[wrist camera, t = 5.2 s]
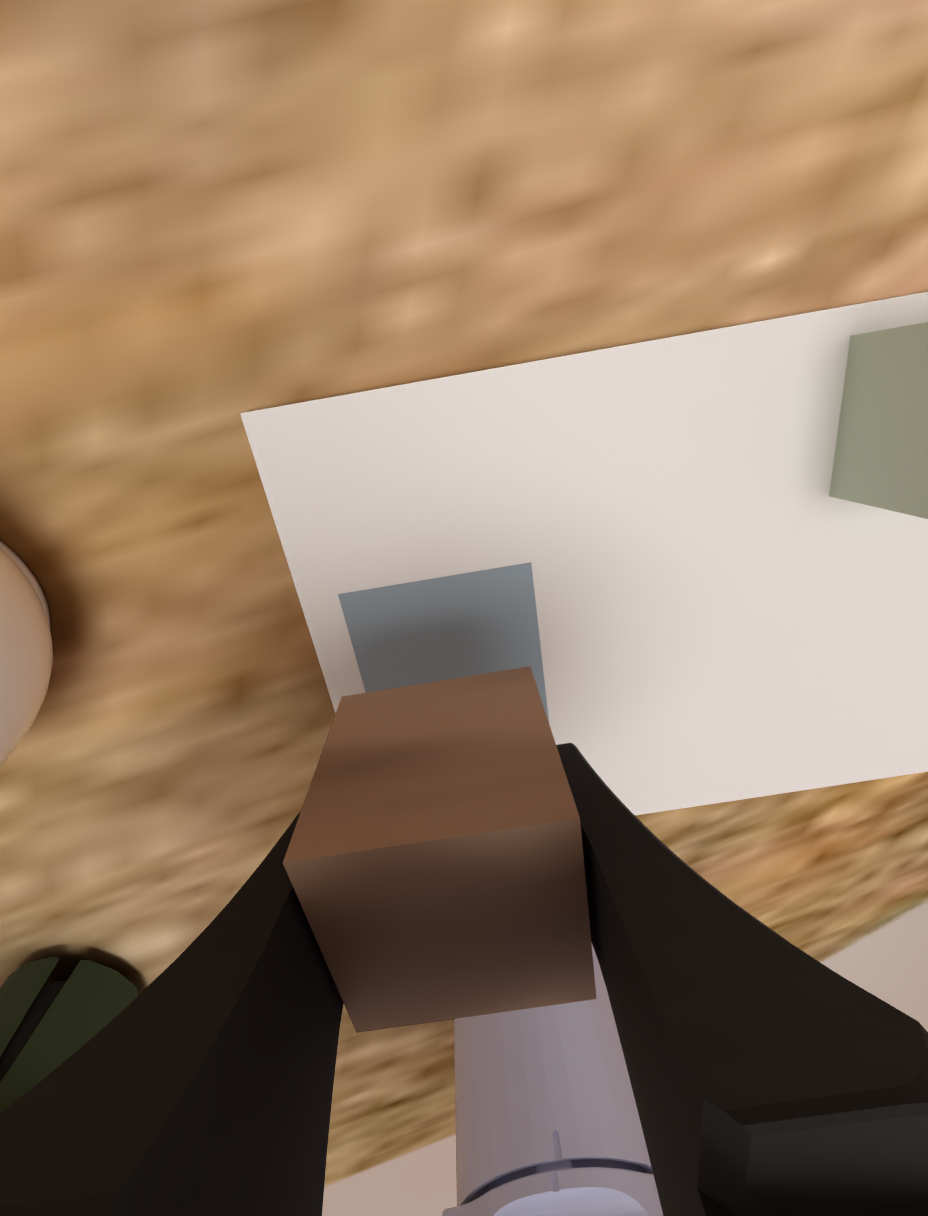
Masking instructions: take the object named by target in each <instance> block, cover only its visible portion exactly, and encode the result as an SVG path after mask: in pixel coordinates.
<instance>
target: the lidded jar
mask: <svg viewBox="0 0 928 1216" xmlns="http://www.w3.org/2000/svg"><path fill="white" fill-rule="evenodd" d="M50 628H51V625H50V613H49V608H48V604H47V601H46V598H45V596H44V593H43V591H42V588H41V587H40V585H39V583H38V582H37V580H36V578H35V576H34V575H33V574H32V572H31V571H30V570H29V568H28V567H27V566H26V564H25V563H24V562H23V561H22V560H21V559H20V558H19V557H18V556H17V555H16V554H15V553H14V552H13V551H12V550H11V549H10V548H9V547H8V546H6V545H5V544H4V543H3V542H2V541H0V767H1V766H2V765H3V764H4V763H5V761H6V760H7V759H8V757H9V756H10V755H11V753H12V752H13V751H14V750H15V748H16V747H17V746H18V744H19V743H20V742H21V740H22V739H23V738H24V736H25V735H26V733H27V732H28V731H29V729H30V728H31V726H32V724H33V722H34V720H35V718H36V716H37V714H38V712H39V710H40V708H41V706H42V703H43V701H44V698H45V696H46V693H47V691H48V686H49V680H50V675H51V669H52V663H53V650H52V638H51V633H50Z"/></svg>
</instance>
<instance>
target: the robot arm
mask: <svg viewBox="0 0 928 1216" xmlns="http://www.w3.org/2000/svg"><path fill="white" fill-rule="evenodd" d="M556 746H557V749H558V752H559V756H560V759H561V762H562V765H563V768H564V771H565V774H566V777H567V780H568V783H569V786H570V789H571V792H572V795H573V798H574V801H575V804H576V807H577V811H578V814H579V817H580V824H581V835H582V845H583V856H584V867H585V878H586V889H587V900H588V911H589V922H590V933H591V944H592V954H593V965H594V976H595V987H596V998H597V999H593V1000H586V1001H579V1002H572V1003H565V1004H558V1005H550V1006H543V1007H536V1008H529V1009H522V1010H515V1011H507V1012H500V1013H493V1014H486V1015H479V1016H472V1017H464V1018H457V1019H454V1046H455V1110H456V1171H457V1172H456V1173H457V1207H453V1208H448V1209H445V1210H444V1211H443V1215H442V1216H928V1032H927V1031H926V1030H925V1029H924V1028H923V1026H922V1025H921V1024H920V1023H919V1022H918V1021H916V1020H915V1019H913V1018H911V1017H910V1016H908V1015H906V1014H905V1013H903V1012H901V1011H899V1010H897V1009H896V1008H894V1007H892V1006H891V1005H889V1004H888V1003H886V1002H884V1001H882V1000H881V999H879V998H877V997H876V996H874V995H872V994H871V993H868V992H867V991H865V990H864V989H862V988H860V987H859V986H857V985H855V984H854V983H852V982H850V981H848V980H847V979H845V978H843V977H842V976H840V975H839V974H837V973H835V972H834V971H832V970H830V969H829V968H828V967H826V966H825V965H823V964H821V963H820V962H818V961H817V960H815V959H814V958H812V957H811V956H809V955H808V954H806V953H805V952H803V951H802V950H800V949H799V948H797V947H796V946H794V945H792V944H791V943H789V942H788V941H787V940H785V939H784V938H783V937H781V936H780V935H778V934H777V933H776V932H774V931H773V930H771V929H770V928H769V927H767V926H766V925H764V924H763V923H762V922H760V921H759V920H757V919H756V918H755V917H753V916H752V915H750V914H749V913H748V912H746V911H745V910H743V909H742V908H741V907H739V906H738V905H736V904H735V903H734V902H732V901H731V900H730V899H729V898H727V897H726V896H725V895H723V894H722V893H721V892H720V891H718V890H717V889H716V888H715V887H713V886H712V885H711V884H710V883H708V882H707V881H706V880H705V879H703V878H702V877H701V876H700V875H699V874H697V873H696V872H695V871H694V870H693V869H691V868H690V867H689V866H688V865H687V864H686V863H684V862H683V861H682V860H681V859H680V858H679V857H678V856H676V855H675V854H674V853H673V852H672V851H671V850H670V849H669V848H668V847H667V846H665V845H664V844H663V843H662V842H661V841H660V840H659V839H658V838H657V837H656V836H655V835H654V834H653V833H652V832H651V831H650V830H649V829H648V828H647V827H646V826H644V825H643V824H642V822H641V821H640V820H639V819H638V818H637V817H636V816H635V815H634V814H633V813H632V812H631V811H630V810H629V809H628V808H627V807H626V806H625V805H624V804H623V803H622V802H621V800H620V799H619V798H618V797H617V796H616V795H615V794H614V793H613V792H612V791H611V790H610V788H609V787H608V786H607V785H606V784H605V783H604V781H603V780H602V779H601V778H600V777H599V775H598V774H597V773H596V772H595V771H594V769H593V768H592V767H591V766H590V764H589V763H588V762H587V760H586V759H585V758H584V756H583V755H582V754H581V752H580V751H579V750H578V748H577V747H576V746H575V745H574V744H572V743H565V744H559V745H556ZM300 813H301V811H300V812H299V814H298V815H297V816H296V818H295V819H294V821H293V822H292V823H291V825H290V826H289V827H288V829H287V830H286V831H285V833H284V834H283V835H282V837H281V838H280V839H279V841H278V842H277V843H276V845H275V846H274V847H273V849H272V850H271V851H270V852H269V854H268V855H267V856H266V858H265V859H264V860H263V862H262V863H261V864H260V865H259V867H258V868H257V869H256V870H255V872H254V873H253V874H252V875H251V877H250V878H249V879H248V880H247V881H246V883H245V884H244V885H243V886H242V888H241V889H240V890H239V891H238V892H237V894H236V895H235V896H234V897H233V898H232V900H231V901H230V902H229V903H228V904H227V905H226V907H225V908H224V909H223V910H222V911H221V912H220V913H219V915H218V916H217V917H216V918H215V919H214V920H213V921H212V922H211V923H210V925H209V926H208V927H207V928H206V929H205V930H204V931H203V932H202V933H201V934H200V935H199V936H198V937H197V938H196V939H195V940H194V941H193V943H192V944H191V945H190V946H189V947H188V948H187V949H186V950H185V951H184V952H183V953H182V954H181V955H180V956H179V957H178V958H177V959H176V960H175V961H174V962H173V963H172V964H171V965H170V966H169V967H168V968H167V969H166V970H165V971H164V972H163V973H162V974H161V975H159V976H158V977H157V978H156V979H155V980H154V981H153V982H152V983H151V984H150V985H149V986H148V987H147V988H146V989H145V990H144V991H143V992H142V993H141V994H140V995H139V996H138V997H136V998H135V999H134V1000H133V1001H132V1002H131V1003H130V1004H129V1005H128V1006H127V1007H126V1008H125V1009H124V1010H123V1011H122V1012H121V1013H119V1014H118V1015H117V1016H116V1017H115V1018H114V1019H113V1020H112V1021H110V1022H109V1023H108V1024H107V1025H106V1026H105V1027H104V1028H103V1029H101V1030H100V1031H99V1032H98V1033H97V1034H96V1035H95V1036H94V1037H92V1038H91V1039H90V1040H89V1041H88V1042H87V1043H85V1044H84V1045H83V1046H82V1047H81V1048H80V1049H78V1050H77V1051H76V1052H75V1053H74V1054H72V1055H71V1056H70V1057H69V1058H68V1059H67V1060H65V1061H64V1062H63V1063H62V1064H61V1065H60V1066H58V1067H57V1068H56V1069H55V1070H54V1071H52V1072H51V1073H50V1074H49V1075H47V1076H46V1077H45V1078H44V1079H43V1080H41V1081H40V1082H39V1083H38V1084H37V1085H35V1086H34V1087H33V1088H31V1089H30V1090H29V1091H28V1092H26V1093H25V1094H24V1095H23V1096H21V1097H20V1098H19V1099H17V1100H16V1101H15V1102H14V1103H12V1104H11V1105H10V1106H9V1107H7V1108H6V1109H5V1110H3V1111H2V1112H1V1113H0V1216H322V1205H323V1192H324V1180H325V1167H326V1155H327V1144H328V1133H329V1123H330V1112H331V1102H332V1092H333V1082H334V1073H335V1064H336V1055H337V1046H338V1037H339V1028H340V1021H341V1015H342V1009H343V1003H344V1002H343V1000H342V998H341V995H340V993H339V991H338V989H337V986H336V984H335V982H334V979H333V977H332V975H331V972H330V970H329V968H328V966H327V963H326V961H325V959H324V956H323V954H322V952H321V950H320V947H319V945H318V943H317V940H316V938H315V936H314V934H313V931H312V929H311V927H310V924H309V922H308V920H307V917H306V915H305V913H304V911H303V908H302V906H301V904H300V901H299V899H298V897H297V895H296V892H295V890H294V888H293V885H292V883H291V881H290V879H289V876H288V874H287V872H286V869H285V867H284V865H283V861H284V858H285V855H286V852H287V849H288V847H289V844H290V841H291V838H292V835H293V833H294V830H295V827H296V824H297V821H298V818H299V816H300Z"/></svg>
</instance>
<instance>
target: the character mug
mask: <svg viewBox="0 0 928 1216" xmlns="http://www.w3.org/2000/svg"><path fill="white" fill-rule="evenodd" d="M59 959H60V958H56V957H49V958H45V959H40V960H36V961H31V962H27V963H25V964H24V965H23V966H21V967H20V968H19V969H17V970H16V971H15V972H14V973H12V974H11V975H10V976H8V978H7V979H6V981H5V982H4V984H3V985H2V987H1V988H0V1113H1V1112H2V1111H3V1110H5V1109H6V1108H7V1107H9V1106H10V1105H11V1104H12V1103H14V1102H15V1101H16V1100H17V1099H19V1098H20V1097H21V1096H23V1095H24V1094H25V1093H26V1092H28V1091H29V1090H30V1089H31V1088H33V1087H34V1086H35V1085H37V1084H38V1083H39V1082H40V1081H41V1080H43V1079H44V1078H45V1077H46V1076H47V1075H49V1074H50V1073H51V1072H52V1071H54V1070H55V1069H56V1068H57V1067H58V1066H60V1065H61V1064H62V1063H63V1062H64V1061H65V1060H67V1059H68V1058H69V1057H70V1056H71V1055H72V1054H74V1053H75V1052H76V1051H77V1050H78V1049H80V1048H81V1047H82V1046H83V1045H84V1044H85V1043H87V1042H88V1041H89V1040H90V1039H91V1038H92V1037H94V1036H95V1035H96V1034H97V1033H98V1032H99V1031H100V1030H101V1029H103V1028H104V1027H105V1026H106V1025H107V1024H108V1023H109V1022H110V1021H112V1020H113V1019H114V1018H115V1017H116V1016H117V1015H118V1014H119V1013H121V1012H122V1011H123V1010H124V1009H125V1008H126V1007H127V1006H128V1005H129V1004H130V1003H131V1002H132V1001H133V1000H134V999H135V998H136V997H138V996H139V995H138V991H137V987H136V986H134V985H133V984H132V983H131V982H130V981H129V980H127V979H126V978H125V977H124V976H123V975H121V974H120V973H119V972H118V971H116V970H114V969H111V968H108V967H106V966H103V965H101V964H98V963H95V962H93V961H90V960H80V962H79V963H78V965H77V966H76V968H75V969H74V971H73V973H72V974H71V976H70V977H69V979H68V980H67V981H55V982H54V981H52V982H46V980H47V979H48V977H49V975H50V974H51V972H52V970H53V969H54V967H55V966H56V964H57V962H58V961H59Z"/></svg>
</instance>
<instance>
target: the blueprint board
mask: <svg viewBox="0 0 928 1216" xmlns="http://www.w3.org/2000/svg"><path fill="white" fill-rule="evenodd" d="M925 322H928V292H923V293H918V294H912V295H906V296H901V297H895V298H889V299H884V300H878V301H872V302H867V303H861V304H855V305H850V306H844V307H838V308H833V309H827V310H821V311H816V312H810V313H805V314H799V315H793V316H788V317H782V318H776V319H771V320H765V321H759V322H754V323H748V324H742V325H737V326H731V327H725V328H720V329H714V330H708V331H703V332H697V333H691V334H686V335H680V336H675V337H669V338H663V339H658V340H652V341H646V342H641V343H635V344H629V345H624V346H618V347H612V348H607V349H601V350H595V351H590V352H584V353H578V354H573V355H567V356H561V357H556V358H550V359H545V360H539V361H533V362H528V363H522V364H516V365H511V366H505V367H499V368H494V369H488V370H482V371H477V372H471V373H465V374H460V375H454V376H448V377H443V378H437V379H431V380H426V381H420V382H414V383H409V384H403V385H398V386H392V387H386V388H381V389H375V390H369V391H364V392H358V393H352V394H347V395H341V396H335V397H330V398H324V399H318V400H313V401H307V402H301V403H296V404H290V405H284V406H279V407H273V408H268V409H262V410H256V411H251V412H245V413H240V414H241V417H242V421H243V424H244V427H245V430H246V433H247V436H248V439H249V443H250V446H251V449H252V452H253V455H254V458H255V462H256V465H257V468H258V471H259V474H260V477H261V480H262V484H263V487H264V490H265V493H266V496H267V499H268V502H269V506H270V509H271V512H272V515H273V518H274V521H275V524H276V528H277V531H278V534H279V537H280V540H281V543H282V547H283V550H284V553H285V556H286V559H287V562H288V565H289V569H290V572H291V575H292V578H293V581H294V584H295V587H296V591H297V594H298V597H299V600H300V603H301V606H302V609H303V613H304V616H305V619H306V622H307V625H308V628H309V632H310V635H311V638H312V641H313V644H314V647H315V650H316V654H317V657H318V660H319V663H320V666H321V669H322V672H323V676H324V679H325V682H326V685H327V688H328V691H329V694H330V698H331V701H332V704H333V707H334V710H335V713H336V711H337V709H338V706H339V703H340V700H341V697H342V696H348V695H354V694H361V693H367V692H373V691H379V690H386V689H392V688H398V687H404V686H411V685H417V684H423V683H429V682H435V681H442V680H448V679H454V678H460V677H467V676H473V675H479V674H485V673H492V672H498V671H504V670H510V669H516V668H523V667H529V666H530V667H531V670H532V673H533V676H534V679H535V682H536V685H537V688H538V691H539V694H540V697H541V701H542V704H543V707H544V710H545V713H546V716H547V719H548V722H549V725H550V728H551V731H552V734H553V737H554V740H555V743H556V745H559V744H565V743H572V744H574V745H575V746H576V747H577V748H578V750H579V751H580V752H581V754H582V755H583V756H584V758H585V759H586V760H587V762H588V763H589V764H590V766H591V767H592V768H593V769H594V771H595V772H596V773H597V774H598V775H599V777H600V778H601V779H602V780H603V781H604V783H605V784H606V785H607V786H608V787H609V788H610V790H611V791H612V792H613V793H614V794H615V795H616V796H617V797H618V798H619V799H620V800H621V802H622V803H623V804H624V805H625V806H626V807H627V808H628V809H629V810H630V811H631V812H632V813H633V814H634V815H641V814H648V813H654V812H661V811H668V810H674V809H681V808H688V807H694V806H701V805H708V804H714V803H721V802H728V801H734V800H741V799H748V798H754V797H761V796H768V795H774V794H781V793H788V792H794V791H801V790H808V789H814V788H821V787H828V786H834V785H841V784H848V783H854V782H861V781H868V780H874V779H881V778H888V777H894V776H901V775H908V774H914V773H921V772H928V519H925V518H920V517H916V516H912V515H907V514H903V513H899V512H894V511H890V510H886V509H882V508H877V507H873V506H869V505H864V504H860V503H856V502H851V501H847V500H843V499H839V498H834V497H830V496H829V493H830V486H831V478H832V471H833V463H834V456H835V448H836V441H837V433H838V426H839V418H840V410H841V403H842V395H843V388H844V380H845V373H846V365H847V358H848V350H849V343H850V336H851V335H856V334H862V333H868V332H873V331H879V330H885V329H891V328H896V327H902V326H908V325H913V324H919V323H925Z"/></svg>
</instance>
